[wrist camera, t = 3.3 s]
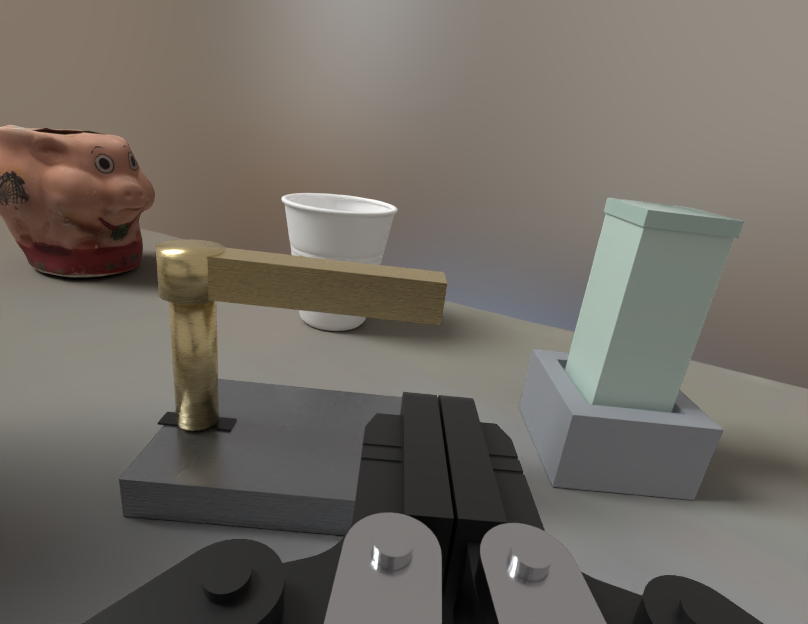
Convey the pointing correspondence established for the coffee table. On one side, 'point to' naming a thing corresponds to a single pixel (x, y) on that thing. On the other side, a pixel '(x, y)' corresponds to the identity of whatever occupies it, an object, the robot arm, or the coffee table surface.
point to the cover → (647, 302)
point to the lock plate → (259, 460)
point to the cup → (337, 238)
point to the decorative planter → (73, 200)
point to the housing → (614, 438)
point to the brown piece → (270, 304)
